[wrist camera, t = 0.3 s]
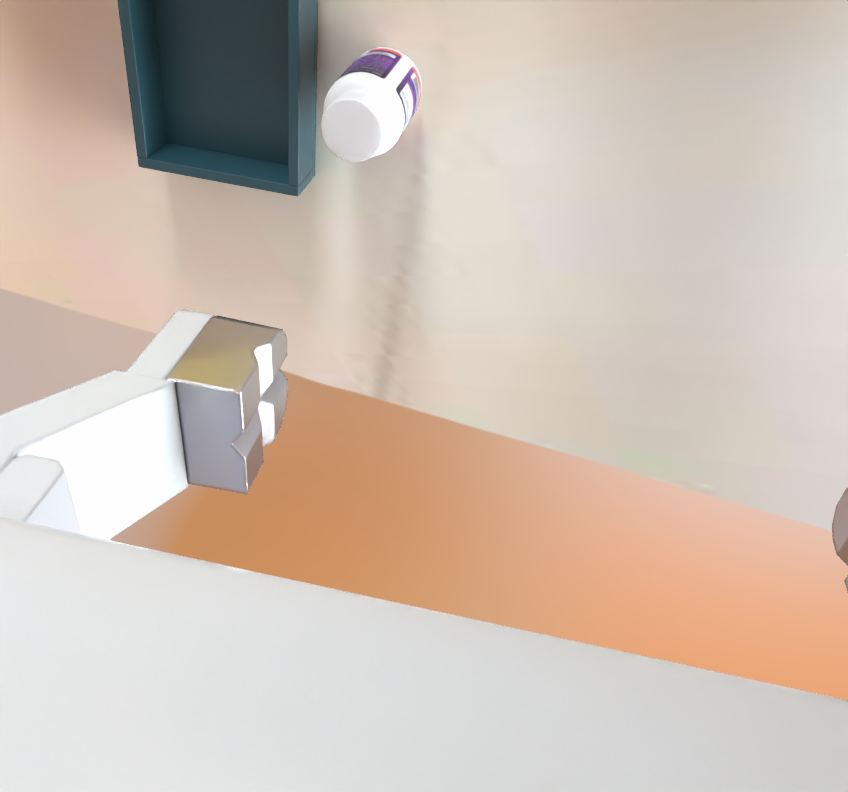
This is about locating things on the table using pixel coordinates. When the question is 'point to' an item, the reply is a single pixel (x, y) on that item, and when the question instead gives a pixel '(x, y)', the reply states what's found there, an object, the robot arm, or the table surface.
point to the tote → (224, 89)
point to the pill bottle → (371, 104)
